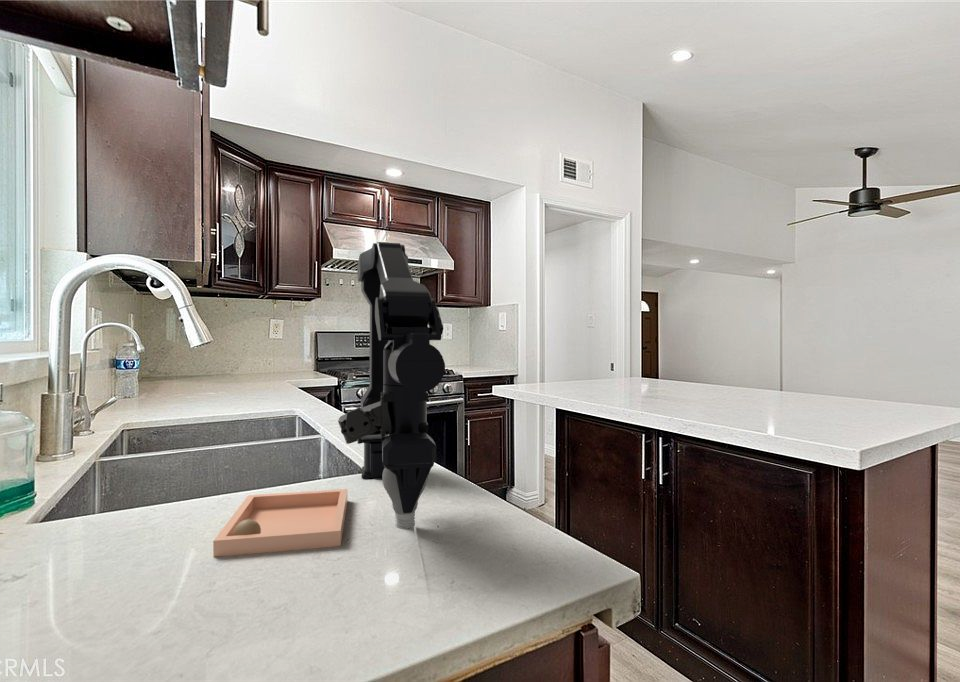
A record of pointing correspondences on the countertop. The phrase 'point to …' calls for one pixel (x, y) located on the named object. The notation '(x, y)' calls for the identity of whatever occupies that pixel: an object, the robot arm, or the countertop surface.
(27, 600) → the countertop surface
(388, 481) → the light bulb
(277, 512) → the dish
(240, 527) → the cork ball
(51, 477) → the countertop surface
